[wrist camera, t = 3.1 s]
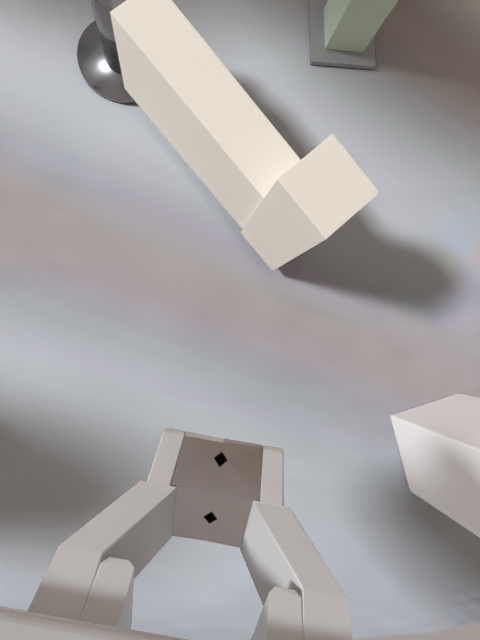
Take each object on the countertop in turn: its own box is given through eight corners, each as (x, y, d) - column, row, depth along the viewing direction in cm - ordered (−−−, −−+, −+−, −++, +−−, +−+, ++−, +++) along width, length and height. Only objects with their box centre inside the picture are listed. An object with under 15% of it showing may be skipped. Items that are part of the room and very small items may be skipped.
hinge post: (67, 26, 29) (29, -87, 21) (154, 11, 30) (148, -101, 22) (92, 111, 29) (63, 30, 21) (177, 94, 30) (179, 11, 22)
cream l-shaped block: (121, 90, 29) (93, -45, 18) (162, 60, 29) (156, -88, 19) (272, 270, 30) (326, 239, 20) (308, 239, 31) (379, 192, 20)
